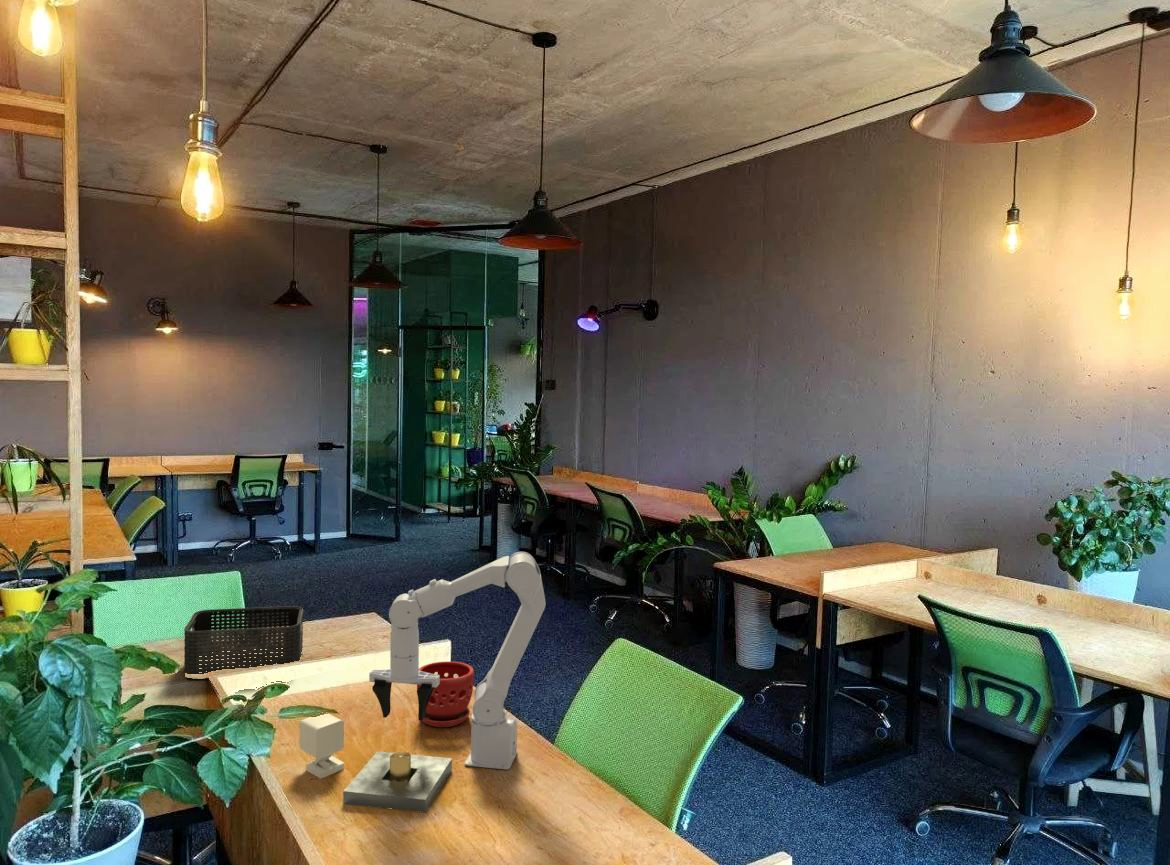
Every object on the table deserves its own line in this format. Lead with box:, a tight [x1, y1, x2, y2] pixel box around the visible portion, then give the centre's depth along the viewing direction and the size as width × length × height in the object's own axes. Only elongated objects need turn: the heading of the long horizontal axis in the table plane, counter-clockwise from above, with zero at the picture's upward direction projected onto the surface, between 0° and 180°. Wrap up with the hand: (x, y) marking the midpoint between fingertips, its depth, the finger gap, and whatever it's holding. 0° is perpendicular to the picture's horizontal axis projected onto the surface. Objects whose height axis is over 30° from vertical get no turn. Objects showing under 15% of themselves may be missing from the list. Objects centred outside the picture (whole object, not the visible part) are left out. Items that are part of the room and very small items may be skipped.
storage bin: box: [183, 605, 304, 674], centre depth 218 cm, size 29×19×13 cm
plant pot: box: [416, 661, 475, 728], centre depth 188 cm, size 13×13×12 cm
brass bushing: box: [390, 751, 412, 782], centre depth 157 cm, size 4×4×6 cm
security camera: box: [299, 713, 345, 779], centre depth 163 cm, size 6×7×10 cm
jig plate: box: [342, 751, 453, 813], centre depth 157 cm, size 16×16×2 cm
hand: (404, 717), depth 167 cm, fingers open, 7 cm apart
